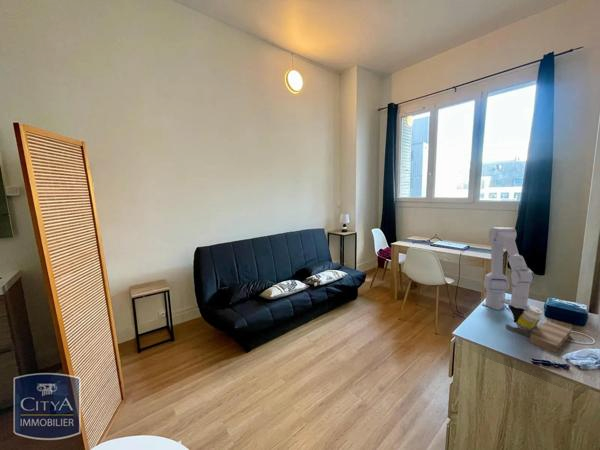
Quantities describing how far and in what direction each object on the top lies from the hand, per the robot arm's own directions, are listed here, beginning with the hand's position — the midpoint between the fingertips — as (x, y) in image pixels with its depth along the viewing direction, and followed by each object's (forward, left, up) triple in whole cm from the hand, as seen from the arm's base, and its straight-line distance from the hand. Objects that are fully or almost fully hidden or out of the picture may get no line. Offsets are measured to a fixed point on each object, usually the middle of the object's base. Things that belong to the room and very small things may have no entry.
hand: (516, 321), depth 116 cm
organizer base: (0, +7, -2) cm, 7 cm away
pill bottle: (0, +3, -2) cm, 3 cm away
